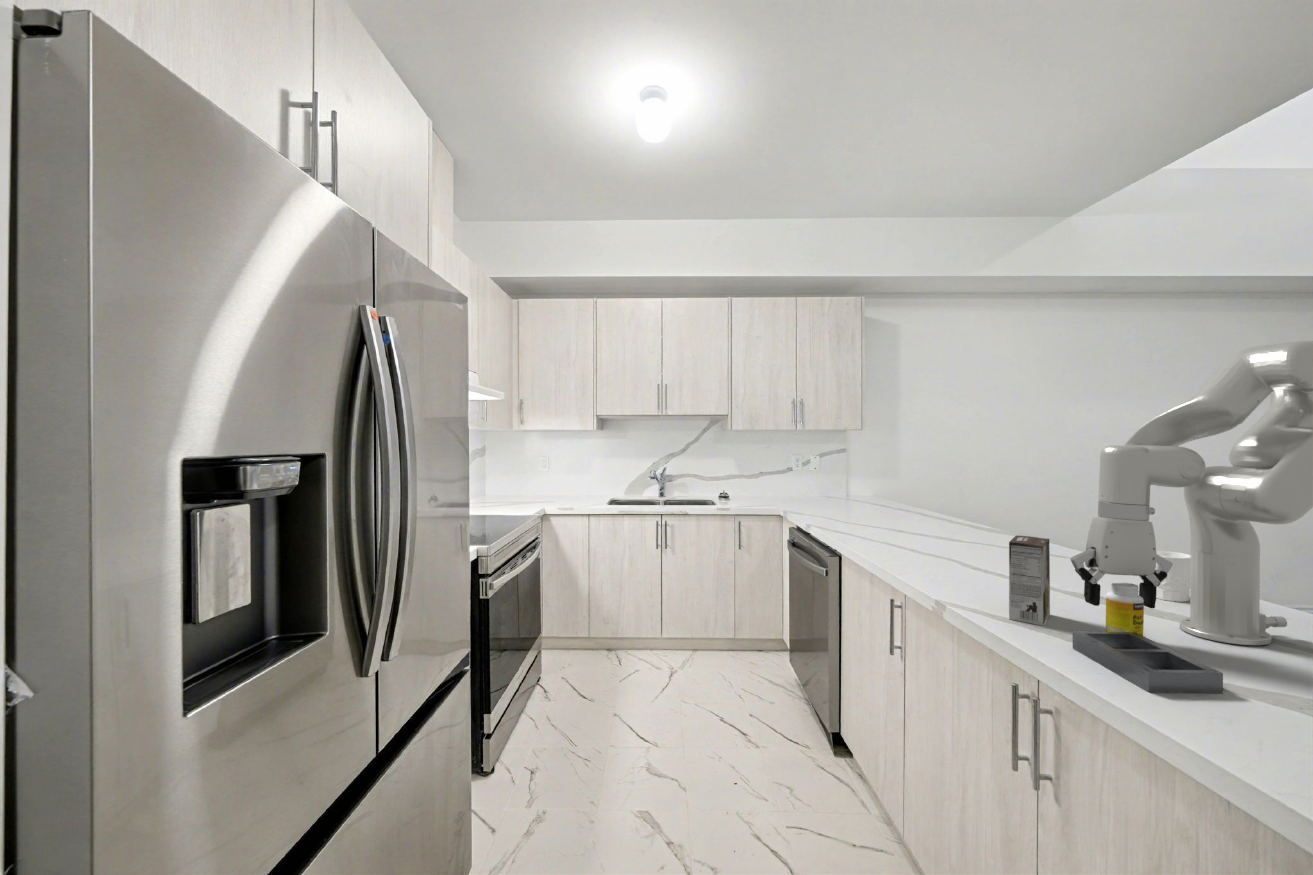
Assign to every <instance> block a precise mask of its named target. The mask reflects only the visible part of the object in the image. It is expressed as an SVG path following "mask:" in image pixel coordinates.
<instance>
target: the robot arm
mask: <svg viewBox="0 0 1313 875" xmlns="http://www.w3.org/2000/svg"><path fill="white" fill-rule="evenodd" d="M1268 396H1270V403H1269V407H1268V409H1267V410H1266V411H1265V412H1264V414H1262V415H1261V417H1260V418H1259V419H1257V421H1255V422H1254V424H1253V425H1251V426H1250V428H1249V429H1248V430H1247V431H1246V432H1244V434H1242V436H1240V437H1239V438H1238V439H1237V440H1236V442H1235V443H1234V445H1233V446H1232V447H1231V449H1230V451H1229V457H1228V460H1229V463H1230V464H1231V466H1227V465H1223V466H1222V465H1214V466H1206V462H1205V459H1204V458H1203V457H1202V456H1201V455H1200V454H1199V453H1198V452H1197V451H1195V450H1193V449H1191V448H1188V447H1185V446H1184V447H1183V446H1182V445H1184V444H1186V443H1189V442H1192V441H1195V440H1199V439H1203V438H1208V437H1212V436H1216V435H1219V434H1222V433H1226V432H1228V431H1232V430H1234V429H1236V428H1238V427H1239V426H1240V425H1242V424H1243V423H1244V422H1245V421H1246V419H1248V417H1249V416H1250V415H1252V413H1253V412H1254V411H1255V410H1256V409H1257V408H1258V407H1259V406H1260V405H1261V404H1262V402H1264V401H1265V399H1267V398H1268ZM1098 476H1099V477H1098V478H1099V479H1098V501H1097V517H1093V518H1092V520H1091V522H1090V525H1089V529H1088V533H1087V539H1086V545H1085V546H1086V547H1085V551H1082V552H1079V553H1077V554H1076V555H1074V556H1071V557H1070V562H1071V564H1072V566H1073V567H1074V571H1075V573H1076V574H1077V575H1078V576H1079V577H1080V578H1081V580H1082V581H1084V583H1083V584H1084V588H1083V590H1084V592H1083V597H1084V601H1085V602H1086V603H1088V604H1090V605H1092V606H1096V607H1099V606H1100V604H1101V584H1099V581H1100V580H1101V579H1102V578H1103V577H1104V576H1105V575H1115V576H1138V577H1139V578H1140V579H1141V581H1142V582H1140V583H1139V585H1138V591H1139V592H1138V595H1139V596H1141V597H1142V598H1143V600H1144V607H1145V608H1146V607H1147V608H1148V609H1149V608H1150V609H1155V608H1156V601H1157V598H1156V589H1157V587H1159V586H1160V585H1161V582H1162V581H1163V580H1164V579H1165V578H1166V577H1167V573H1168V572H1169V570H1170V569H1171V567H1172V565H1173V564H1172V562H1170V561H1168V560H1166V559H1165V558H1163V557H1161V556H1159V555H1157V554H1156V551H1157V543H1156V535H1155V530H1154V526H1153V522H1151V521H1150V516H1151V515H1155V514H1156V509H1155V508H1154V507H1151V503H1150V502H1151V501H1150V499H1151V486H1157V487H1163V488H1165V487H1166V488H1183V496H1184V497H1183V498H1184V501H1185V505H1186V509H1187V513H1188V518H1189V529H1190V555H1191V574H1190V595H1189V601H1190V607H1189V608H1190V609H1189V610H1190V611H1189V612H1190V613H1189V618H1184V619H1180V621H1179V628H1180V629H1181V630H1182V631H1184V632H1186V633H1187V634H1189V635H1192V636H1196V637H1199V638H1201V639H1206V640H1210V641H1215V642H1220V643H1226V644H1231V645H1241V646H1264V645H1265V646H1266V645H1269V644H1271V643H1272V635H1271V634H1270V633H1268V632H1267V631H1266V629H1269V628H1270V627H1272V628H1286V627H1287V626H1288V621H1287V619H1286V617H1283V616H1278V615H1277V616H1267V615H1266V614H1264V613H1261V612H1260V611H1261V610H1260V608H1261V607H1260V606H1261V604H1260V603H1261V602H1260V596H1261V595H1260V592H1261V590H1260V589H1261V588H1260V587H1261V586H1260V584H1261V578H1260V577H1261V573H1260V572H1261V568H1260V567H1261V544H1260V539H1259V536H1258V534H1257V532H1256V530H1255V529H1254V526H1253V525H1252V524H1251V522H1253V523H1259V524H1261V523H1262V524H1269V525H1287V524H1288V525H1289V524H1292V523H1294V522H1296V521H1298V520H1300V519H1301V518H1302V517H1304V516H1305V515H1307V514H1308V513H1309V512H1310V511H1311V510H1312V509H1313V340H1304V341H1303V340H1302V341H1290V342H1283V343H1282V342H1281V343H1272V344H1266V345H1257V346H1252V347H1247V348H1244V349H1242V350H1240V351H1237V352H1236V353H1234V354H1233V355H1232V356H1231V357H1230V358H1229V359H1228V360H1227V361H1225V363H1224V364H1223V365H1222V366H1221V367H1219V369H1218V370H1217V371H1216V372H1215V373H1214V375H1212V376H1211V378H1209V379H1208V381H1207V382H1205V384H1204V385H1202V387H1200V389H1199V390H1198V391H1197V392H1196V393H1195V394H1194V395H1193V396H1192V397H1191V398H1189V399H1188V400H1186V401H1184V402H1182V403H1180V404H1178V405H1176V406H1174V407H1172V408H1171V409H1169V410H1167V411H1165V412H1163V413H1161V414H1159V415H1157V416H1155V417H1154V418H1151V419H1150V420H1148V421H1147V422H1145V423H1143V425H1141V426H1140V427H1139V428H1137V429H1136V430H1134V432H1133V433H1132V434H1131V435H1130V436H1129V437H1128V438H1127V439H1126V440H1125V441H1124V443H1122V445H1107V446H1104V447H1103V448H1102V449H1101V451H1100V456H1099V475H1098ZM1156 563H1157V564H1158V569H1157V570H1155V569H1156ZM1085 567H1086V568H1085Z"/></svg>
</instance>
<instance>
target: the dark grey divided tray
mask: <svg viewBox="0 0 1313 875" xmlns="http://www.w3.org/2000/svg"><path fill="white" fill-rule="evenodd" d="M1072 649H1073V650H1075V651H1077V652H1078V653H1080V654H1081V655H1084V656H1085V657H1087V658H1088V659H1090V660H1092V661H1094V662H1096V663H1097V664H1098V665H1101V666H1102V667H1104V668H1106V669H1107V670H1109V671H1111V672H1113V673H1115V674H1116V675H1118V676H1120V677H1121V678H1123V679H1124V680H1126V681H1128V682H1130V683H1132V684H1134V685H1135V686H1137V687H1139V688H1141V689H1142V690H1144V691H1146V692H1148V693H1163V694H1166V693H1174V694H1175V693H1176V694H1177V693H1178V694H1181V693H1182V694H1223V693H1224V673H1223V672H1221V671H1219V670H1217V669H1216V668H1213V667H1211V666H1208V665H1206V664H1204V663H1202V662H1200V661H1198V660H1195V659H1193V658H1191V657H1189V656H1188V655H1185V654H1183V653H1180V652H1178V651H1177V650H1174V649H1171V648H1169V647H1167V646H1165V645H1164V644H1160V643H1159V642H1157V641H1155V640H1153V639H1150V638H1149V637H1146V636H1144V635H1143V636H1142V635H1139V634H1137V633H1135V632H1106V631H1072ZM1164 692H1165V693H1164Z"/></svg>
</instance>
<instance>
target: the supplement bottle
mask: <svg viewBox="0 0 1313 875" xmlns="http://www.w3.org/2000/svg"><path fill="white" fill-rule="evenodd" d="M1110 585H1111V587H1110V591H1108V592H1107V593H1106V594H1105V632H1135V633H1137V634H1139V635H1142V636H1144V617H1145V616H1144V615H1145V614H1144V610H1145V609H1144V607H1145V606H1144V600H1143V598H1142V597H1141V596H1139V585H1138V584H1135V583H1131V582H1125V581H1124V582H1123V581H1113V582H1111V584H1110Z"/></svg>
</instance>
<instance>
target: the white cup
mask: <svg viewBox="0 0 1313 875" xmlns="http://www.w3.org/2000/svg"><path fill="white" fill-rule="evenodd" d="M1156 554H1157V555H1159V556H1161V557H1163V558H1165V559H1166V560H1168V561H1170V562H1172V564H1173V565H1172V567H1171V569H1170V570H1169V572H1168V573H1167V577H1166V578H1165V579H1164V580H1163V581H1162V582H1161V585H1160V586H1159V587H1157V589H1156V600H1162V601H1168V602H1175V601H1176V602H1178V603H1181V602H1183V603H1185V602H1189V601H1190V574H1191V554H1187V553H1184V552H1176V551H1167V550H1165V551H1164V550H1156ZM1157 569H1158V564H1157V563H1156V569H1155V570H1157Z"/></svg>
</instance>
